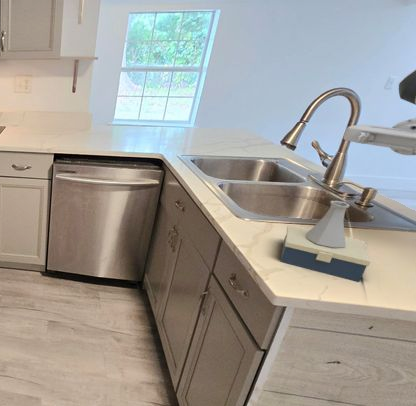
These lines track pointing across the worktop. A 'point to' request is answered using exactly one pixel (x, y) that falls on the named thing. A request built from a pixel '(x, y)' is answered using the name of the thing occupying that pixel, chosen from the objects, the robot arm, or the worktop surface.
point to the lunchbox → (325, 255)
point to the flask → (330, 227)
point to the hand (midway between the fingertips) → (388, 144)
